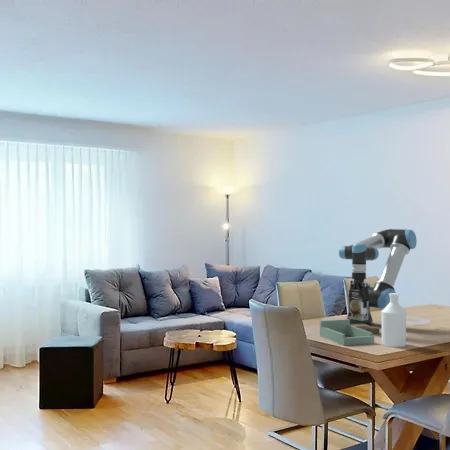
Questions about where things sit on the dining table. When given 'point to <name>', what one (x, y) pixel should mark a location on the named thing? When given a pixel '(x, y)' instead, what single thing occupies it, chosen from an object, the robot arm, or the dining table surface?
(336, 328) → the frame
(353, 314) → the coffee box
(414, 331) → the dining table surface
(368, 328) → the board
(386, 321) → the bottle
